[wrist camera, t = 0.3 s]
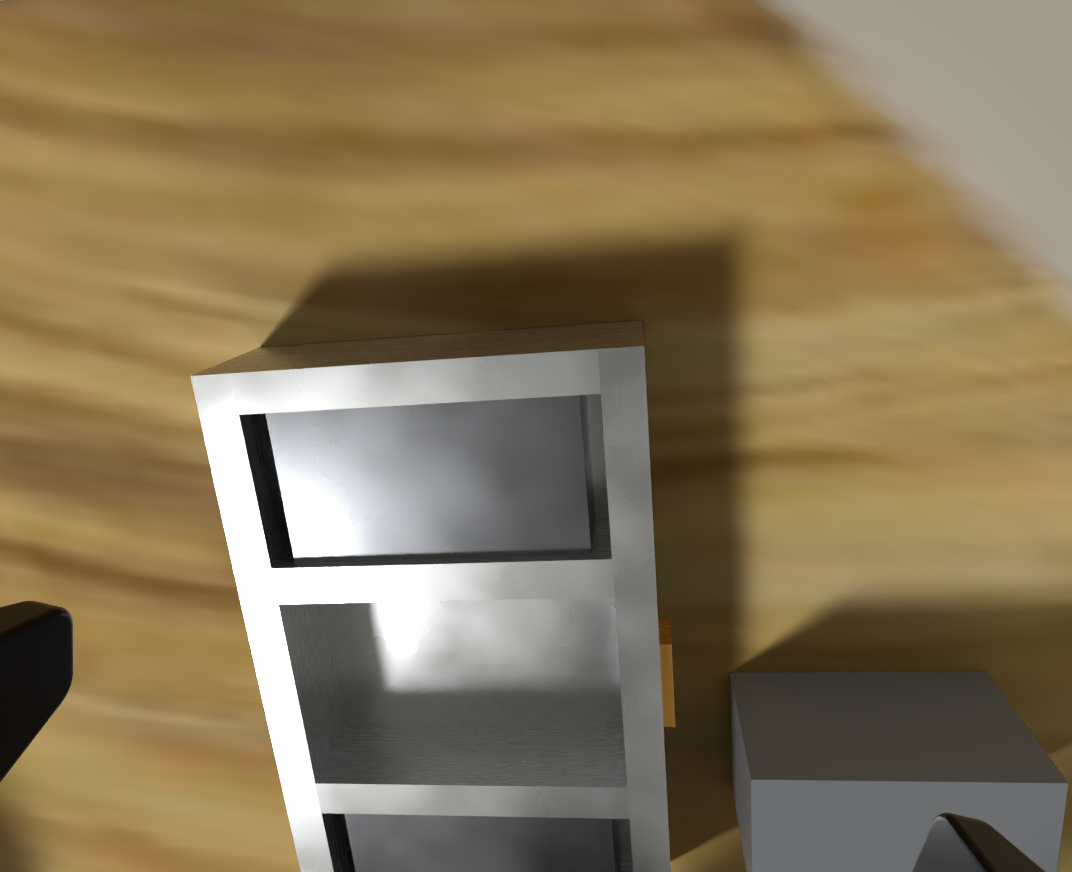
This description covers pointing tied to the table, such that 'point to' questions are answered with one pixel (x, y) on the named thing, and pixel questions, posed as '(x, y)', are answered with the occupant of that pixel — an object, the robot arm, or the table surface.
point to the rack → (452, 595)
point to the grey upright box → (882, 768)
